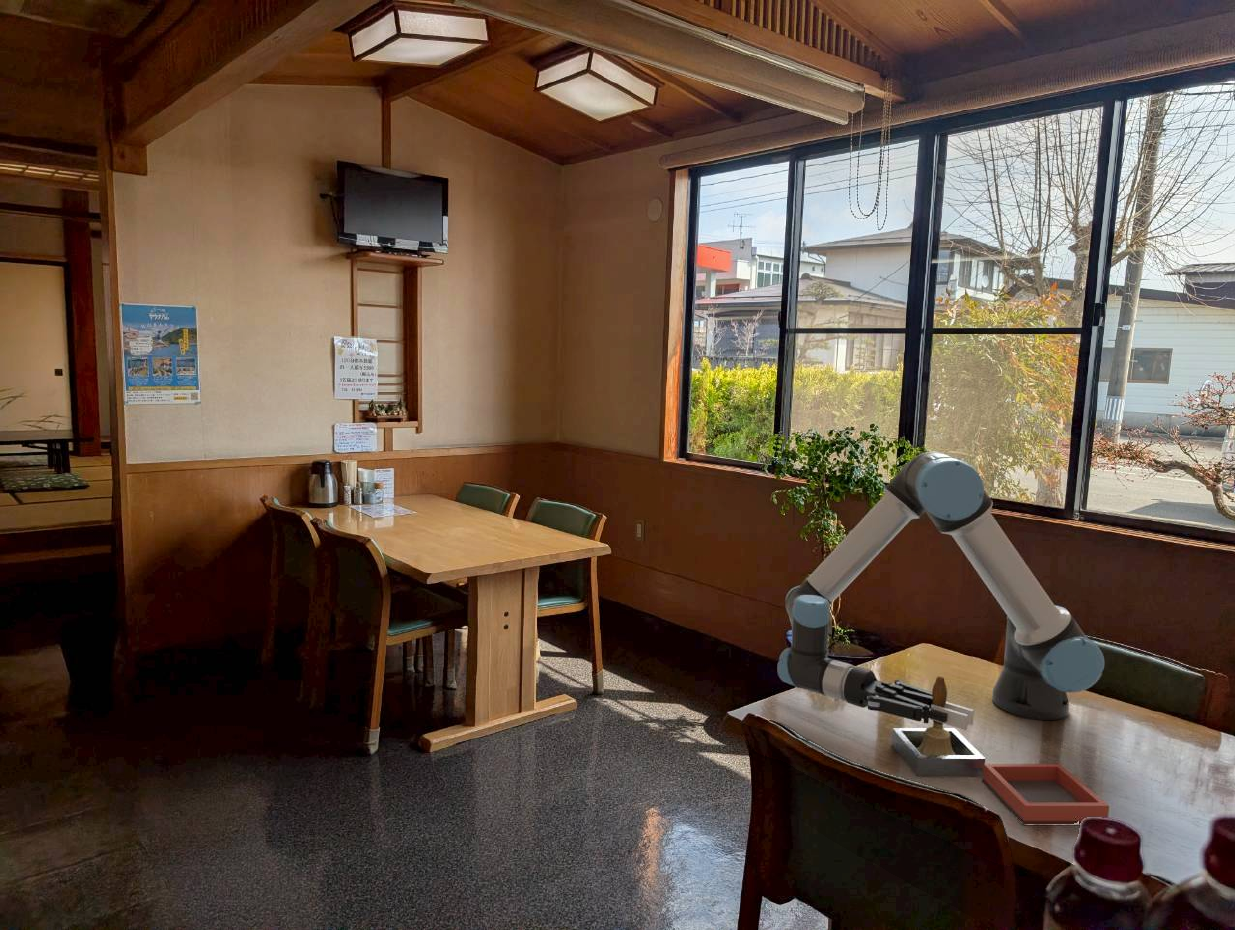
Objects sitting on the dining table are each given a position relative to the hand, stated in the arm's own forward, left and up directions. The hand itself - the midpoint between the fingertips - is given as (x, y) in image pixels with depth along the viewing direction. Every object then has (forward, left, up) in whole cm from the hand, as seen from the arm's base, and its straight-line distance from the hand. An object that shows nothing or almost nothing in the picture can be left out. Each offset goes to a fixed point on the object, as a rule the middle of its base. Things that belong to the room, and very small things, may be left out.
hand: (969, 719), depth 151 cm
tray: (-8, +11, -10) cm, 17 cm away
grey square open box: (+4, -4, -10) cm, 11 cm away
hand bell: (+4, -4, -10) cm, 11 cm away
